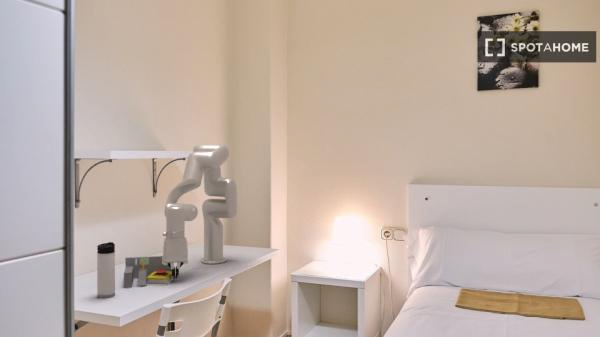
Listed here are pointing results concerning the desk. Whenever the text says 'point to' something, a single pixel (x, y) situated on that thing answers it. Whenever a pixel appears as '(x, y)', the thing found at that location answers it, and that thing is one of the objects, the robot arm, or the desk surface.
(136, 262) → the frame
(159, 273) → the emergency button
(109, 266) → the travel mug
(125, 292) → the desk surface
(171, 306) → the desk surface
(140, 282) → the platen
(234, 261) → the desk surface
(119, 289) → the desk surface
